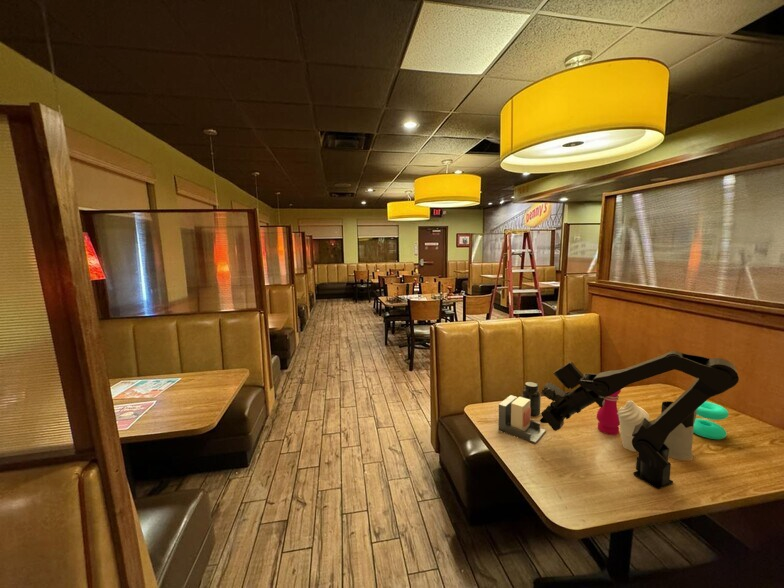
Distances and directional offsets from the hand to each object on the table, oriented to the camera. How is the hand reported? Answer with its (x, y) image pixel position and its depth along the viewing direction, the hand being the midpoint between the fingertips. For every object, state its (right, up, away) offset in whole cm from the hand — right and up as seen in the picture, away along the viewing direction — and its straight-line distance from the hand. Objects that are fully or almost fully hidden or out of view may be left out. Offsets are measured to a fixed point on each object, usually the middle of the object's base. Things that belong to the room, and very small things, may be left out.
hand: (540, 421), depth 108 cm
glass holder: (+41, -6, -8) cm, 42 cm away
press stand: (-4, -6, +5) cm, 9 cm away
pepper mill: (+26, -5, +4) cm, 27 cm away
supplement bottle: (+5, -4, +18) cm, 19 cm away
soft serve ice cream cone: (+26, -6, -6) cm, 28 cm away
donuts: (+58, -5, +1) cm, 58 cm away
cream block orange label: (-5, -5, +5) cm, 8 cm away
